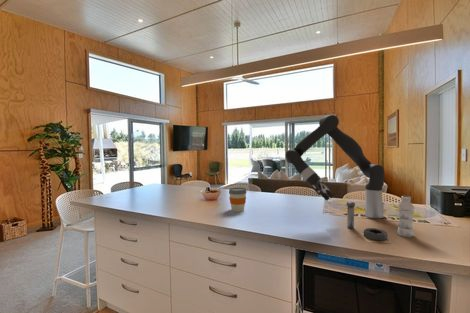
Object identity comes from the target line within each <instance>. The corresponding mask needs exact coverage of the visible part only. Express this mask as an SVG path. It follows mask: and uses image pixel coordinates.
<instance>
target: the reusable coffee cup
mask: <svg viewBox="0 0 470 313" xmlns="http://www.w3.org/2000/svg"><path fill="white" fill-rule="evenodd" d="M228 194H229V204H230V207H231V211H232V212H243V211H245V206H246V200H247V188H245V187H231V188H229V189H228Z"/></svg>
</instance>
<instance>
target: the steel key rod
mask: <svg viewBox="0 0 470 313" xmlns="http://www.w3.org/2000/svg"><path fill="white" fill-rule="evenodd" d="M346 206H347V216H346V217H347V219H346V220H347V226H346V227H347V229H348V230H350V229H351V230H354V229H355V207H356V202H354V201H347V202H346Z"/></svg>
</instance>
